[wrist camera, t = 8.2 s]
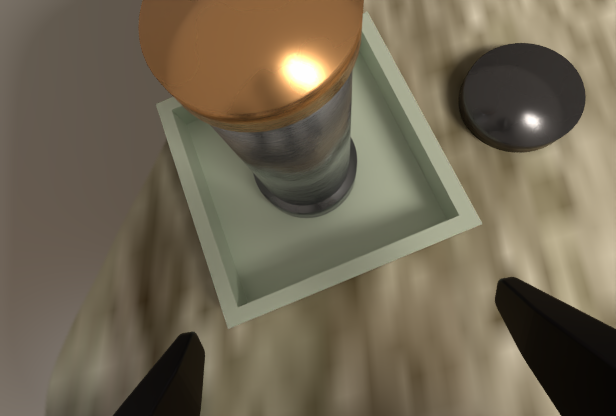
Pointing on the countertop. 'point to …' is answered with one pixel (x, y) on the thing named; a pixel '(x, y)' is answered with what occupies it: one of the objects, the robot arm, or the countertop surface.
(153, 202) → the countertop surface
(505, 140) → the stud
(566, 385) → the robot arm
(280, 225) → the bin
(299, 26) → the grey and gold cylinder
